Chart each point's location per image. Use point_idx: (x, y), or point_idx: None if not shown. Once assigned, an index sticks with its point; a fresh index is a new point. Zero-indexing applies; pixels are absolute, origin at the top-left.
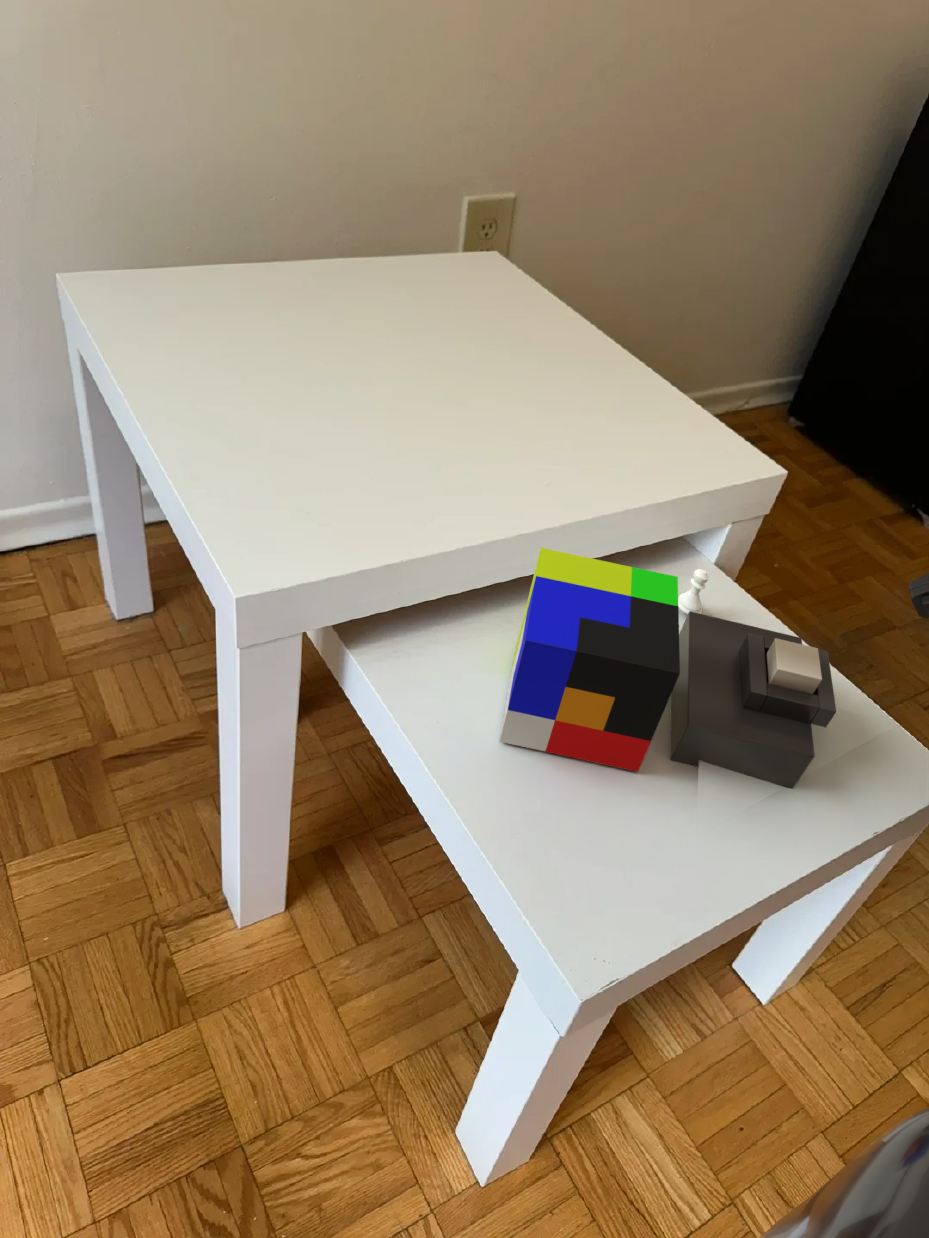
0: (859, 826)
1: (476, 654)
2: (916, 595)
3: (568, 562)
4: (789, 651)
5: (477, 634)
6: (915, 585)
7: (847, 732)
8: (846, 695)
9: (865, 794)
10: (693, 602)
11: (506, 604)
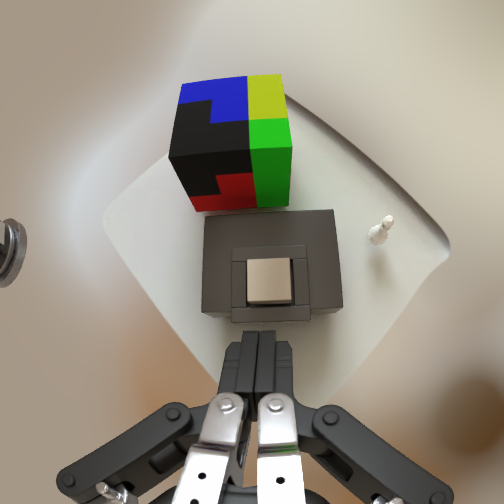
0: (216, 373)
1: None
2: (243, 333)
3: (271, 86)
4: (275, 271)
5: (296, 127)
6: (264, 334)
7: (305, 374)
8: (345, 375)
9: None
10: (374, 232)
11: (329, 135)
